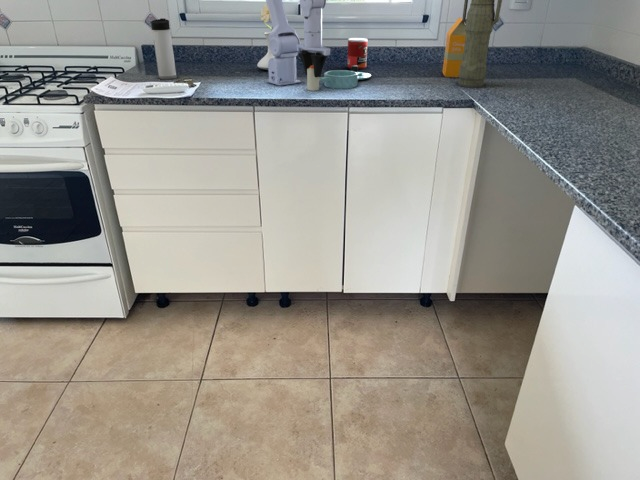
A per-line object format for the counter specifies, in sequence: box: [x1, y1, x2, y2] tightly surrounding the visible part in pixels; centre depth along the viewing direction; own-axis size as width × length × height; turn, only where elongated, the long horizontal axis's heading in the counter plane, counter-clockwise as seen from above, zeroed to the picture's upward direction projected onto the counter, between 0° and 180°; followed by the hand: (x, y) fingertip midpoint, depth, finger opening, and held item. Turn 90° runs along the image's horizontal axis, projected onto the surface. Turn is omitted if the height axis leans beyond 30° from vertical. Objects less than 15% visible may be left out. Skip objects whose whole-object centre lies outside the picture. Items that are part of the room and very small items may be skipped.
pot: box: [319, 69, 362, 90], centre depth 170 cm, size 12×17×4 cm
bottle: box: [306, 65, 320, 92], centre depth 163 cm, size 4×4×8 cm
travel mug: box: [150, 17, 177, 80], centre depth 177 cm, size 6×7×20 cm
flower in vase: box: [257, 3, 275, 71], centre depth 190 cm, size 13×11×25 cm
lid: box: [350, 65, 372, 81], centre depth 181 cm, size 13×13×4 cm
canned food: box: [347, 37, 368, 70], centre depth 199 cm, size 8×8×11 cm
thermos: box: [457, 0, 503, 89], centre depth 163 cm, size 9×12×35 cm
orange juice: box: [442, 17, 466, 78], centre depth 183 cm, size 8×9×20 cm
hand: (313, 75), depth 163 cm, fingers closed on bottle, 4 cm apart
